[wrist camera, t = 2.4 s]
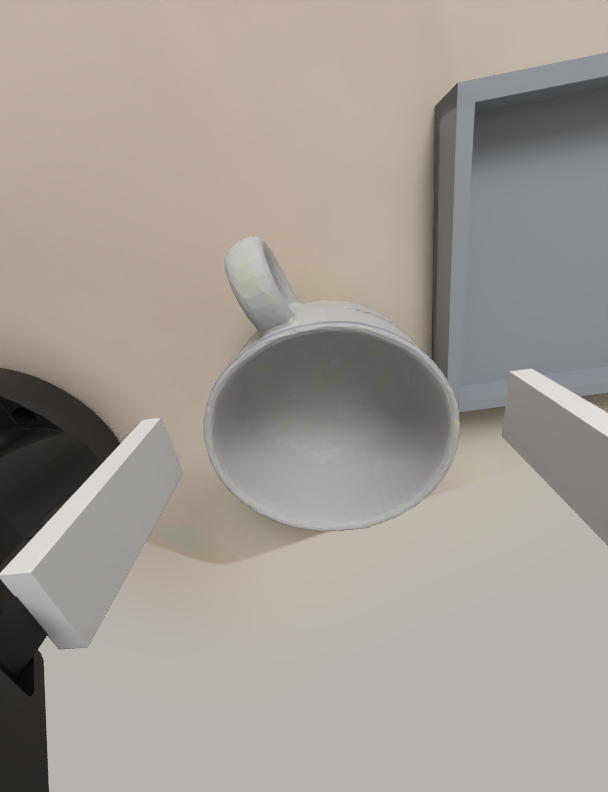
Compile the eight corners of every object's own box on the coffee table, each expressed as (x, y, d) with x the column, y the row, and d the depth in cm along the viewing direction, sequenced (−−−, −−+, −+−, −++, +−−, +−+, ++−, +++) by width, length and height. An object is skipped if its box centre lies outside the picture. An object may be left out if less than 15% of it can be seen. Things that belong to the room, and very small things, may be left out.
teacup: (414, 430, 23) (465, 519, 15) (263, 459, 24) (245, 555, 17) (389, 203, 17) (453, 178, 10) (191, 257, 18) (115, 269, 11)
